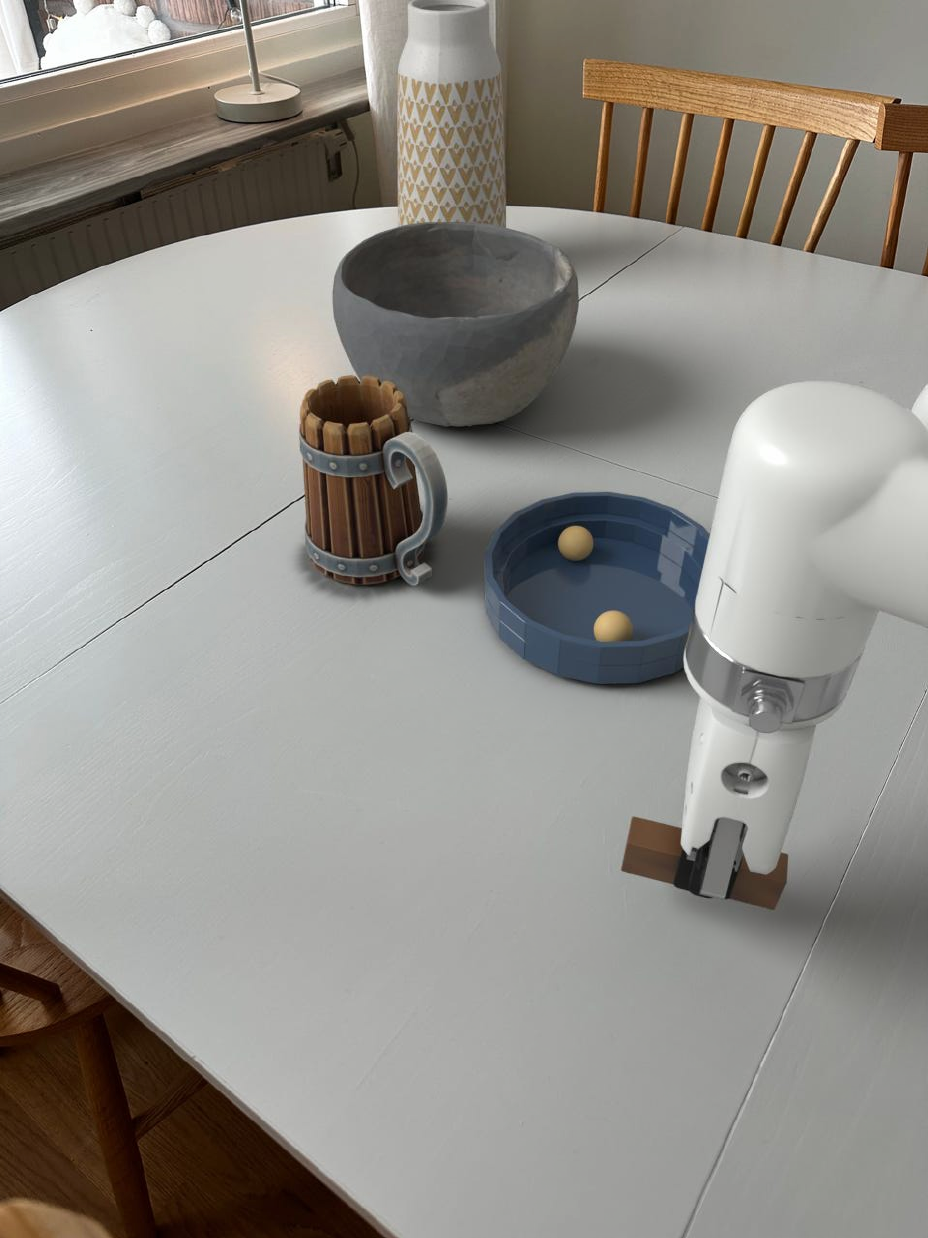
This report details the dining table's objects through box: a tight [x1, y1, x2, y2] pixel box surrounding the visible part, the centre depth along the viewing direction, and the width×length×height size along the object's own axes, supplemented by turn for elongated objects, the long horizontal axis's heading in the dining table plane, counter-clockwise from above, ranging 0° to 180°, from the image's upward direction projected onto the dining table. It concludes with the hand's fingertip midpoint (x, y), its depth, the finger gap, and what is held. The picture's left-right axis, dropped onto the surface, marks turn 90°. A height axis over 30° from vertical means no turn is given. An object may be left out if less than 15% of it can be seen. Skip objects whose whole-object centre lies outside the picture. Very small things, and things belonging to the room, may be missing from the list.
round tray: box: [483, 491, 710, 685], centre depth 79 cm, size 19×19×4 cm
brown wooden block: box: [620, 815, 789, 911], centre depth 57 cm, size 9×2×3 cm, turn 73°
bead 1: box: [558, 526, 594, 561], centre depth 83 cm, size 3×3×3 cm
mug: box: [298, 374, 449, 586], centre depth 80 cm, size 16×11×15 cm
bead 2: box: [594, 611, 633, 642], centre depth 76 cm, size 3×3×3 cm
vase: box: [396, 0, 507, 228], centre depth 118 cm, size 14×14×31 cm
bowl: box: [332, 222, 580, 428], centre depth 100 cm, size 24×24×15 cm
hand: (703, 869), depth 57 cm, fingers closed on brown wooden block, 2 cm apart
